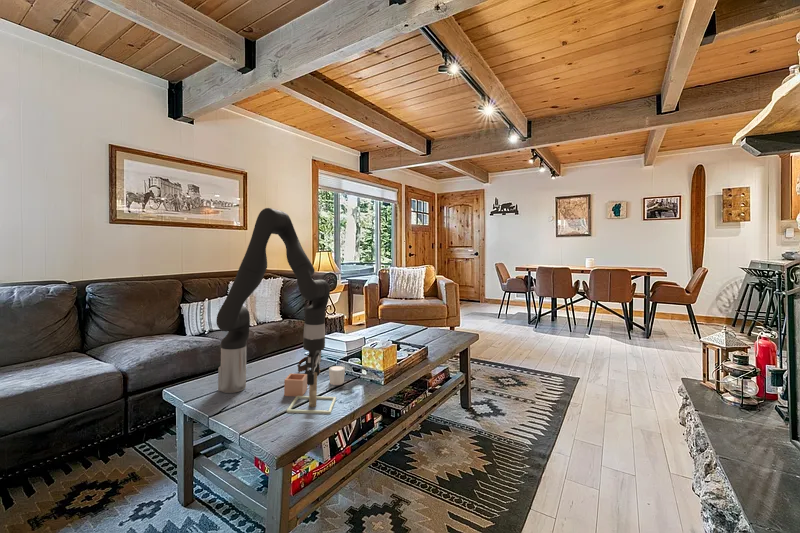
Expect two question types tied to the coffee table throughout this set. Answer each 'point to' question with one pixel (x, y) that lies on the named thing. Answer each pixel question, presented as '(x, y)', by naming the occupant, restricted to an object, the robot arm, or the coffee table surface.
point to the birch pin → (313, 392)
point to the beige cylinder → (336, 375)
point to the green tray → (311, 410)
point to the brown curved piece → (302, 368)
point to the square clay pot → (295, 385)
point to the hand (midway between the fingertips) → (313, 379)
